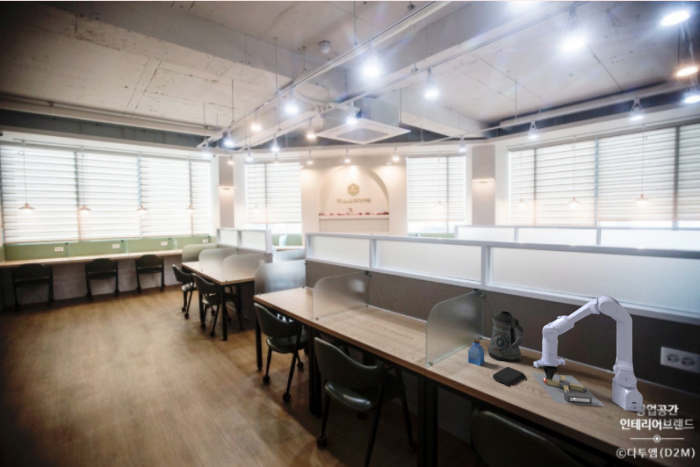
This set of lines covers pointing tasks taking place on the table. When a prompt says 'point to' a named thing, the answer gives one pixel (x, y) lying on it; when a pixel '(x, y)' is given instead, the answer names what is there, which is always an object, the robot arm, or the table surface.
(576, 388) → the cam capstan
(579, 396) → the level window
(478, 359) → the perfume bottle
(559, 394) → the level board
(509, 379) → the carrying case or bag
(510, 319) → the beer stein
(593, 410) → the table surface
